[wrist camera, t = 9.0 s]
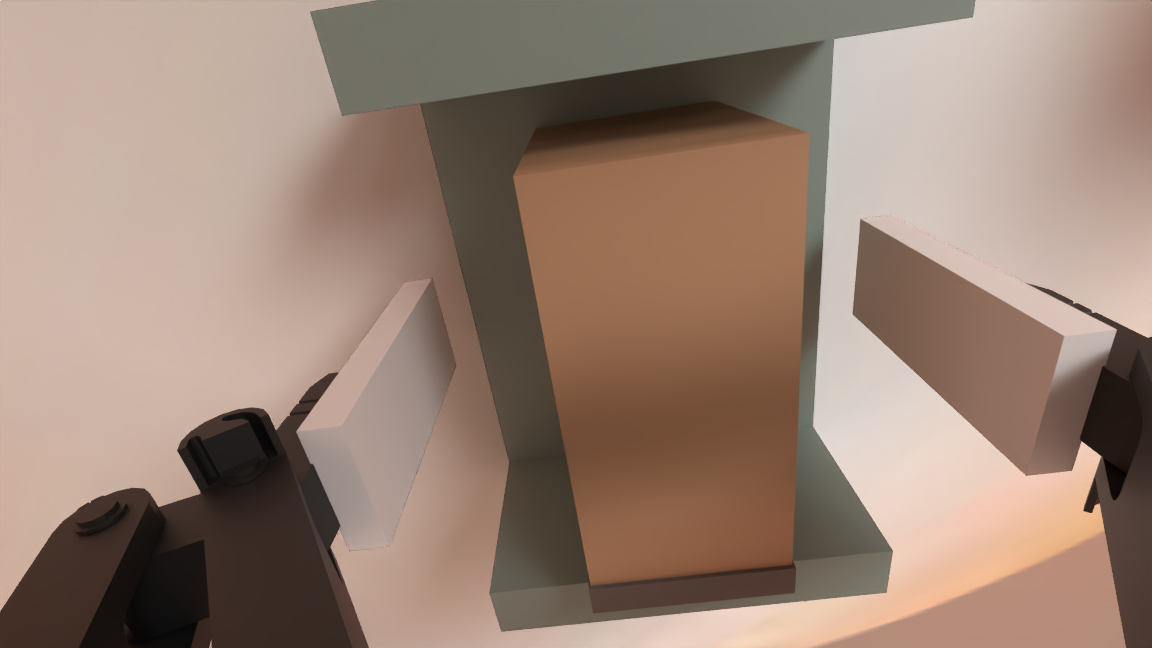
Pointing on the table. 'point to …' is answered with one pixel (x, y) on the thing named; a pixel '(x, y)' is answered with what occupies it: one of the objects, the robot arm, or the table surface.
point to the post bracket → (497, 244)
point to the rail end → (674, 343)
